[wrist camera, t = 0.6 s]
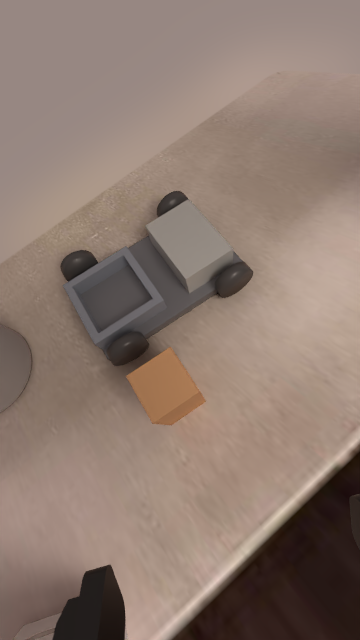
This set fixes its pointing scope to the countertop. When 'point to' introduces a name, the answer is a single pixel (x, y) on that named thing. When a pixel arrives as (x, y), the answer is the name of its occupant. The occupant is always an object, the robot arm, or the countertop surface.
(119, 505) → the countertop surface
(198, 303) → the toy car chassis
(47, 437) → the countertop surface
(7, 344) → the cylinder vase
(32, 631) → the grater
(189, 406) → the orange rectangular block
